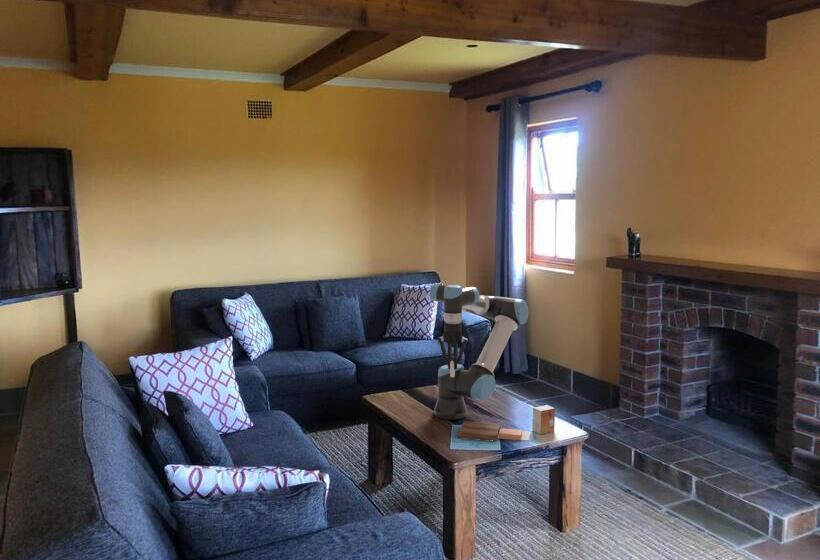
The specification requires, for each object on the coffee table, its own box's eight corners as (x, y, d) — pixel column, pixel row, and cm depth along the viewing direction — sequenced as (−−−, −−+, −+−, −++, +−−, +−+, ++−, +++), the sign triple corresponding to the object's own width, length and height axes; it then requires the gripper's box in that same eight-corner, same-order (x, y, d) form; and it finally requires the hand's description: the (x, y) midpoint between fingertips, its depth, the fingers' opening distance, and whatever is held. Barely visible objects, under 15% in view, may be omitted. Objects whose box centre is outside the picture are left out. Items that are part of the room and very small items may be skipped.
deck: (464, 426, 292) (464, 420, 291) (500, 429, 288) (500, 424, 287) (458, 437, 278) (458, 432, 278) (496, 441, 274) (496, 435, 274)
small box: (540, 435, 281) (540, 411, 280) (531, 430, 286) (532, 407, 285) (554, 431, 285) (555, 408, 284) (546, 427, 290) (546, 404, 289)
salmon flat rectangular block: (499, 437, 278) (499, 433, 277) (501, 432, 283) (501, 428, 283) (520, 439, 275) (520, 435, 275) (522, 434, 281) (522, 430, 281)
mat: (500, 429, 288) (500, 429, 288) (530, 432, 284) (530, 431, 284) (497, 438, 278) (497, 437, 278) (528, 441, 275) (528, 440, 275)
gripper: (435, 323, 277) (435, 377, 281) (466, 324, 274) (466, 380, 277) (439, 319, 285) (439, 372, 288) (469, 321, 281) (469, 375, 284)
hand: (452, 376), depth 283 cm, fingers closed
